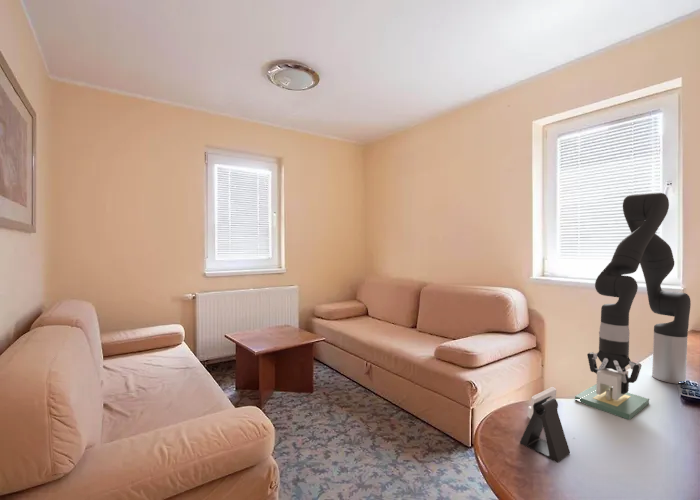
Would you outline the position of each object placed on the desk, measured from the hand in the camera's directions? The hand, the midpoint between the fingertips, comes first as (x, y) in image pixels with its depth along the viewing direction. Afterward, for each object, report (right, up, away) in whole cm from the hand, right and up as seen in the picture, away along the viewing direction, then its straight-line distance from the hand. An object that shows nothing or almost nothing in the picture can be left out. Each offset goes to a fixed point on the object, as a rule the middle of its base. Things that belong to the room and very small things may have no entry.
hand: (612, 389), depth 108 cm
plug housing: (0, -1, 0) cm, 1 cm away
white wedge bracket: (-29, -4, -12) cm, 32 cm away
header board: (0, -4, 0) cm, 4 cm away
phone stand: (-36, -4, -25) cm, 44 cm away
